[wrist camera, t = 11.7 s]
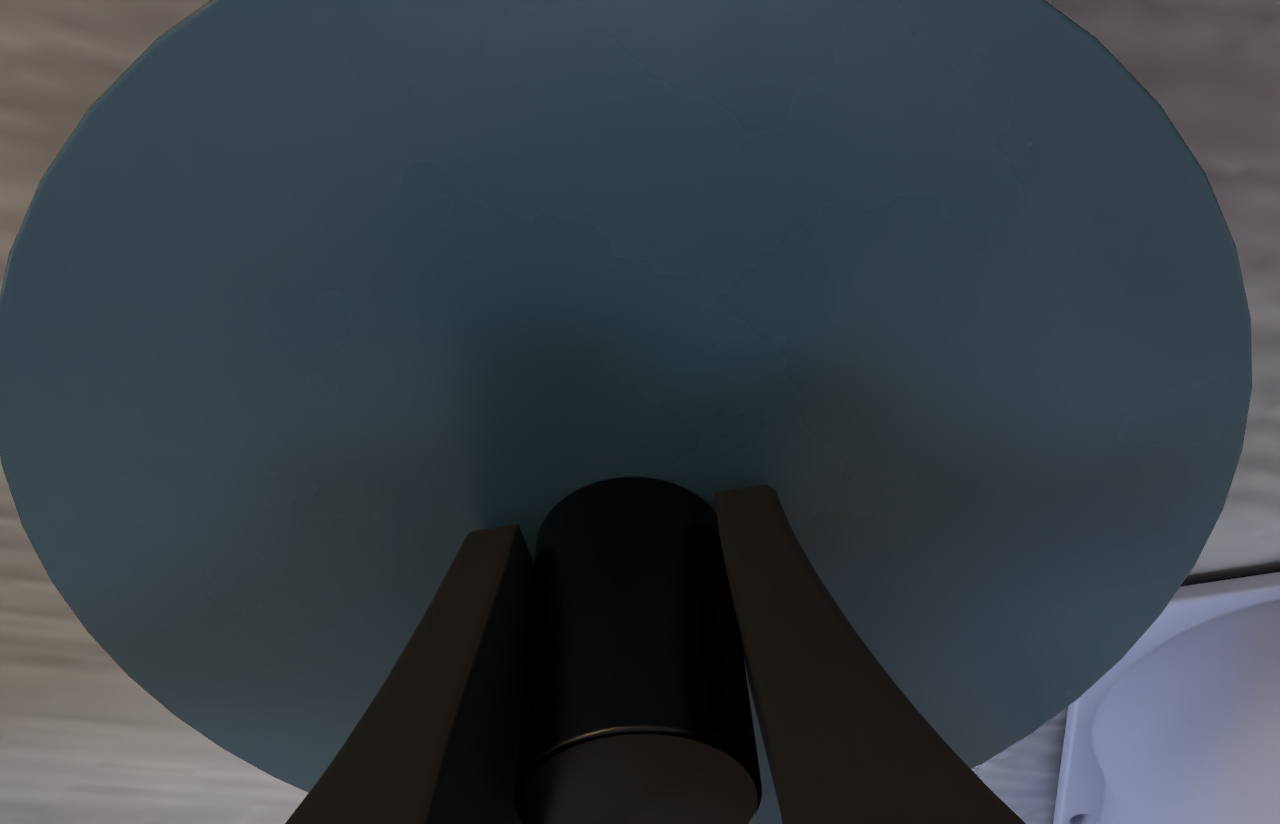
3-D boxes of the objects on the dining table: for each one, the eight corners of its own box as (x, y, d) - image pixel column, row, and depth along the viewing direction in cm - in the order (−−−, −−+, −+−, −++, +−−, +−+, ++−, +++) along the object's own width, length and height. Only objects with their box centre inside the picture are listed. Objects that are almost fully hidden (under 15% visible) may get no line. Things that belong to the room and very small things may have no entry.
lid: (1130, 735, 16) (1280, 1031, 13) (321, 841, 18) (246, 1136, 14) (1339, -321, 8) (2000, -344, 4) (-273, 45, 9) (-872, 274, 5)
